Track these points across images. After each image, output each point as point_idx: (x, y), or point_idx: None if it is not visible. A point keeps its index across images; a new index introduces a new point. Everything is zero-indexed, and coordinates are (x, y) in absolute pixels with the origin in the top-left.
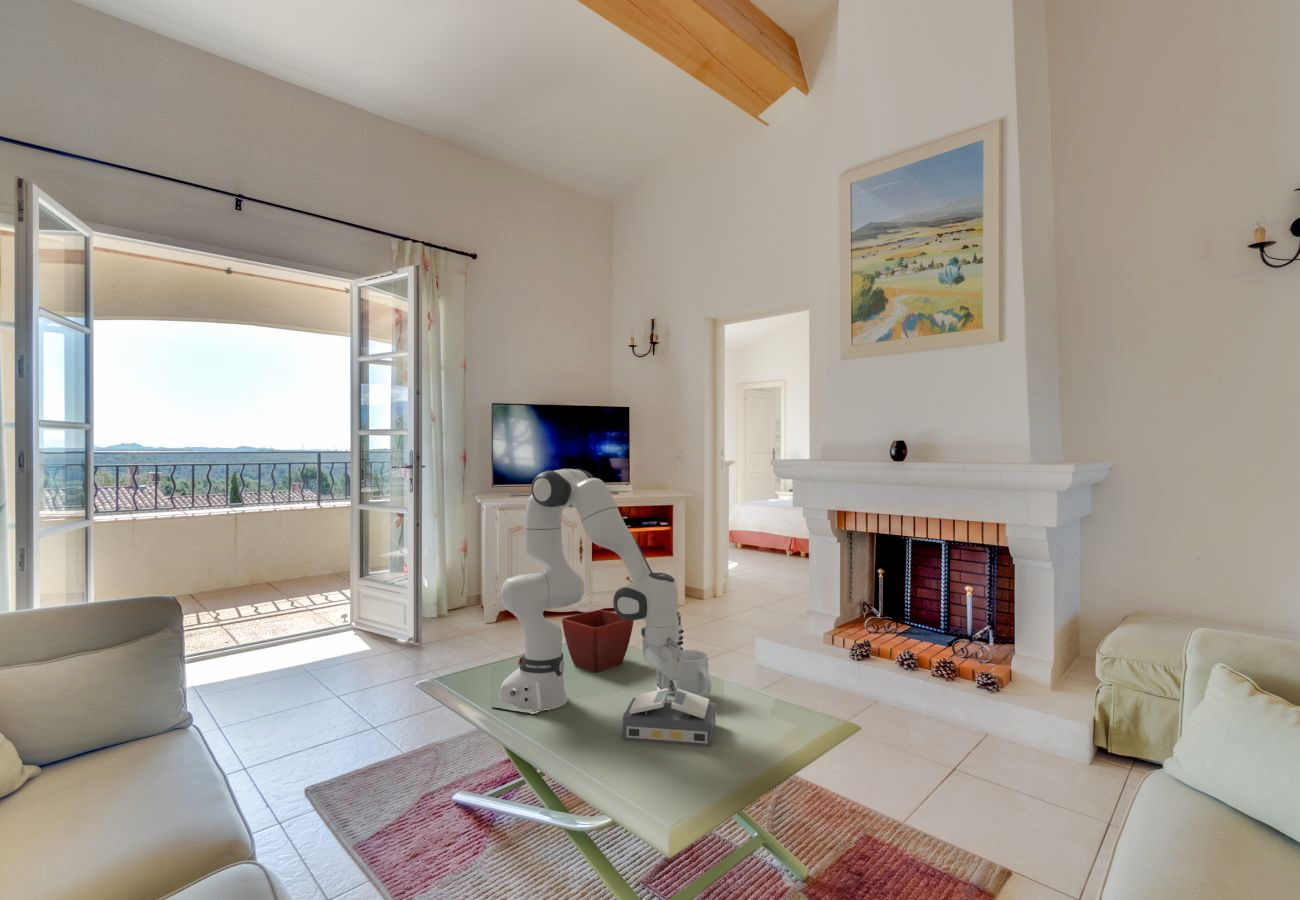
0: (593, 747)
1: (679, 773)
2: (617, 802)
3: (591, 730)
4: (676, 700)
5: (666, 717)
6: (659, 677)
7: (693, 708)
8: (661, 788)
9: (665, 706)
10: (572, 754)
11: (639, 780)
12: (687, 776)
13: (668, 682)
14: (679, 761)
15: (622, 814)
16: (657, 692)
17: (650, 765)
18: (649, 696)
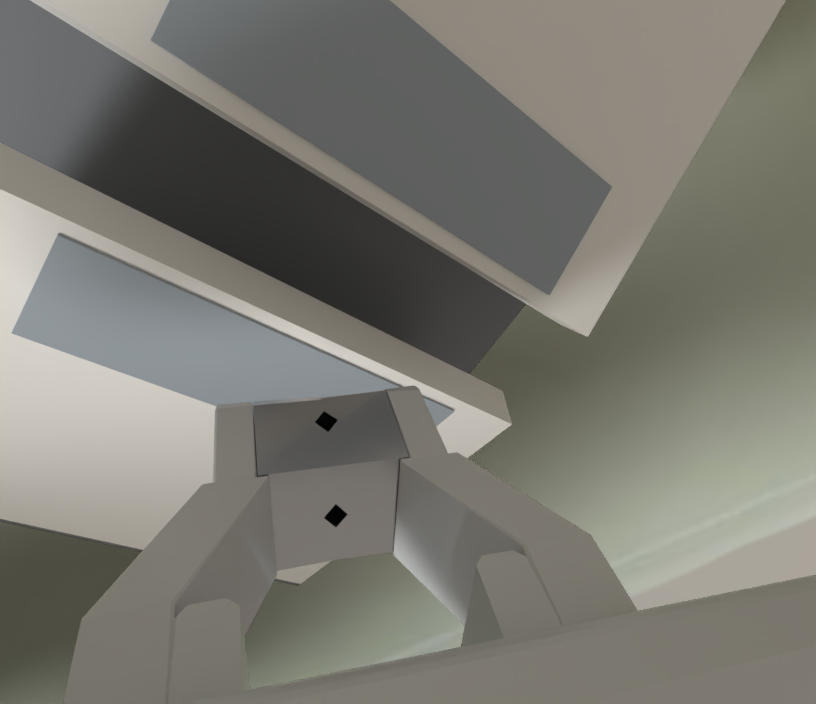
0: (309, 585)
1: (759, 290)
2: (734, 532)
3: (80, 593)
4: (516, 238)
5: (475, 303)
6: (261, 597)
7: (685, 43)
8: (783, 395)
9: (201, 219)
10: (340, 648)
11: (680, 455)
12: (804, 265)
13: (438, 438)
14: (676, 246)
15: (791, 525)
16: (24, 343)
17: (613, 391)
18: (95, 435)
